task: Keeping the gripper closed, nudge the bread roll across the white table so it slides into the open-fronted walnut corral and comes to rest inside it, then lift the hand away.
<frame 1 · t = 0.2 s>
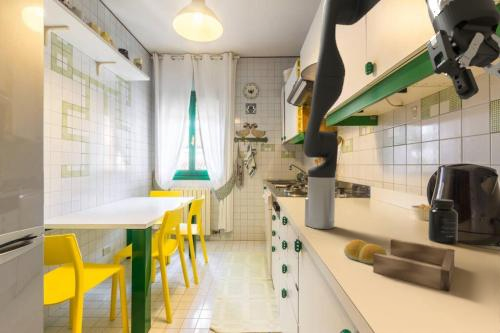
hand: (496, 97, 36), 31 cm above the worktop, tool tilted 20°, fingers open, 8 cm apart
bread roll: (364, 259, 61), on the worktop
supplement bottle: (442, 241, 76), on the worktop
corral: (411, 268, 55), on the worktop
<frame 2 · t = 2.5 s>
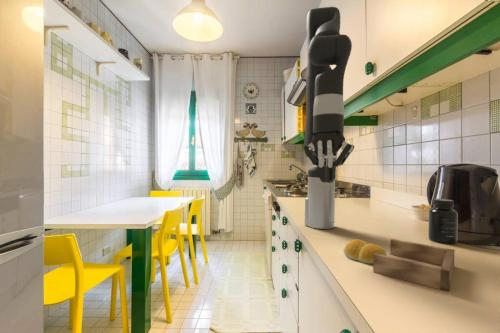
hand: (327, 182, 67), 17 cm above the worktop, tool pointing down, fingers closed
nothing on the worktop moved.
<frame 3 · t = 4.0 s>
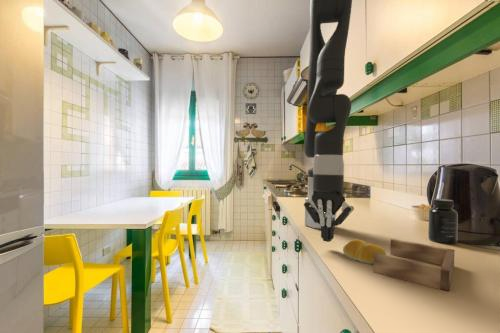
hand: (327, 240, 67), 2 cm above the worktop, tool pointing down, fingers closed
nothing on the worktop moved.
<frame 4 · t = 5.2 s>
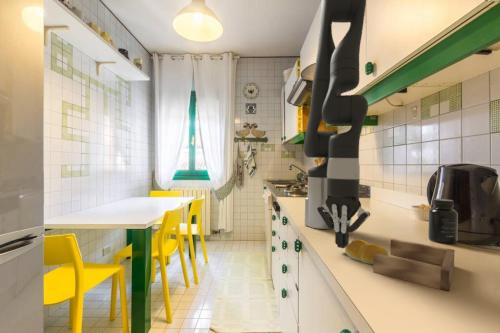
hand: (341, 247, 65), 1 cm above the worktop, tool pointing down, fingers closed
bread roll: (366, 259, 61), on the worktop, touching gripper
everything else where it was.
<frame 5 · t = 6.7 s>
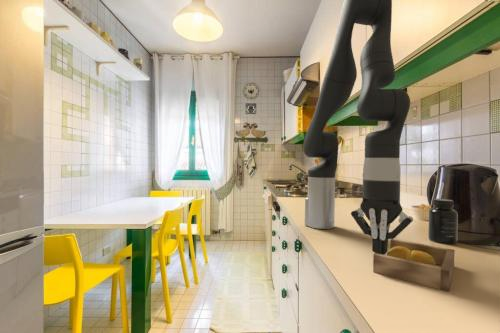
hand: (379, 255, 59), 1 cm above the worktop, tool pointing down, fingers closed
bread roll: (409, 267, 57), on the worktop
everything else where it was.
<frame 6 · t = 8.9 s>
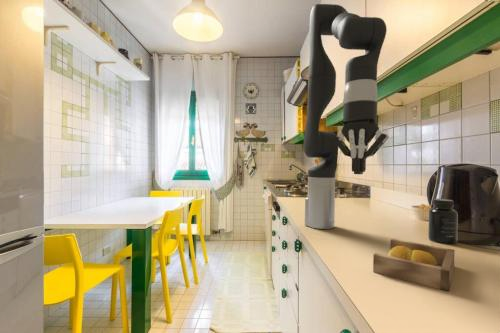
hand: (358, 174, 64), 19 cm above the worktop, tool pointing down, fingers closed
nothing on the worktop moved.
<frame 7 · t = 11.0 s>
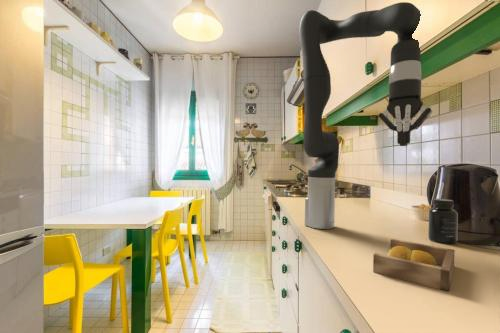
hand: (403, 145, 71), 27 cm above the worktop, tool pointing down, fingers closed
nothing on the worktop moved.
at the end: bread roll inside the target area (2.3 cm from its centre), on the worktop; bread roll moved 9.0 cm from its start; bread roll touching worktop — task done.
